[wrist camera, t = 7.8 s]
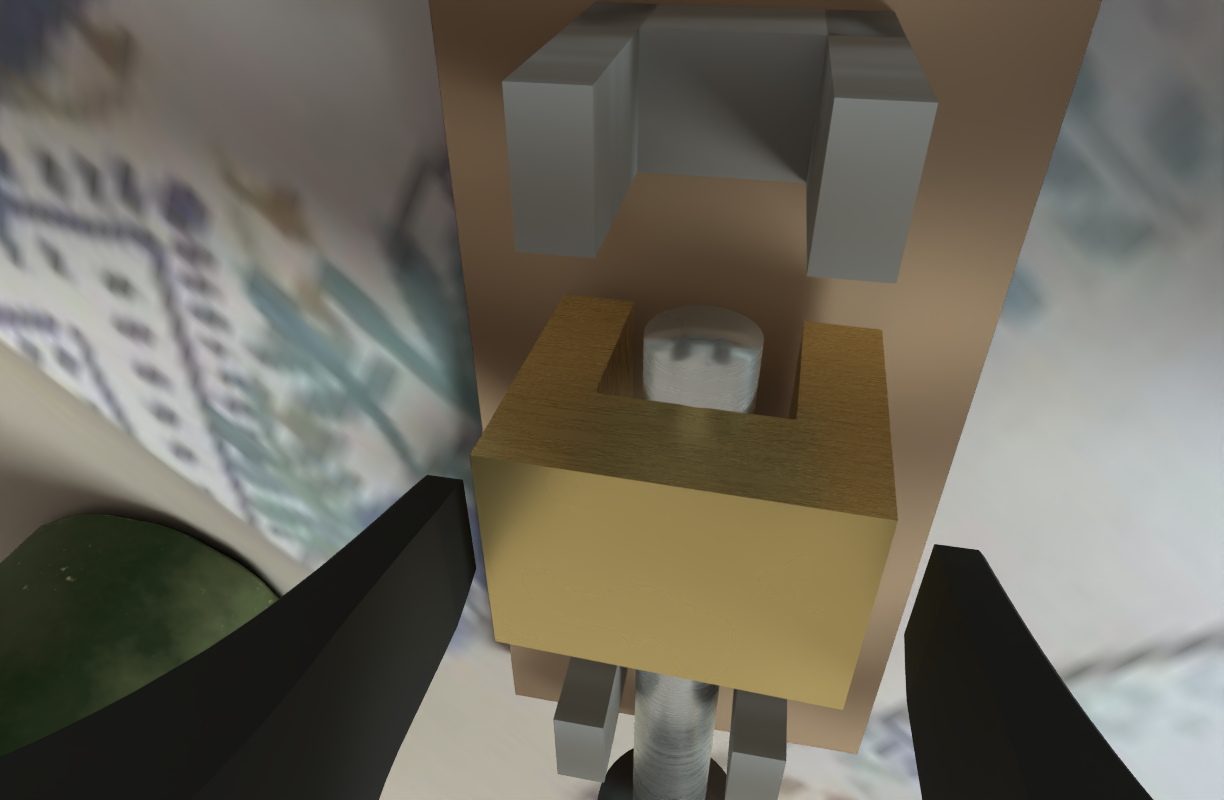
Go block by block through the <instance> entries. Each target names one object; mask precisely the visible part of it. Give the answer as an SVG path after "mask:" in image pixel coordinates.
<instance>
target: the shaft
mask: <svg viewBox="0 0 1224 800" xmlns="http://www.w3.org/2000/svg"><path fill="white" fill-rule="evenodd" d="M763 342H764V336H763V333H762V331H761V329H760V328H759V326H758V325H757V324H756V323H755V322H754V321H752V320H751V319H750V318H748V317H746V316H744V315H743V314H740V313H738V312H735V311H732V310H729V309H725V308H721V307H715V306H705V305H692V306H682V307H677V308H672V309H669V310H666V311H664V312H661V313H659V314H658V315H656V316H654V317H653V318H652V319H651V320H650V321H649V322H648V323H647V325H646V326H645V329H644V344H643V386H642V399H644V400H651V401H659V402H666V403H674V404H680V405H685V406H690V407H700V408H711V409H718V410H726V411H733V412H740V413H748V414H754V412H755V405H756V397H757V389H758V381H759V373H760V365H761V358H762V350H763ZM719 687H720V686H719V685H714V684H708V683H703V682H698V681H693V680H688V679H683V678H678V677H673V676H668V675H663V674H658V673H653V672H648V671H643V670H638V669H636V681H635V723H634V748H633V749H631V750H629V751H628V752H626V753H625V754H624V755H622V756H621V757H620V758H619V759H618V760H617V761H616V762H615V763H614V764H613V765H612V766H611V768H610V769H609V770H608V772H607V774H606V777H605V781H604V783H603V782H602V784H601V787H600V791H599V795H598V800H725V789H726V776H727V775H726V773H725V772H724V771H723V769H722V768H721V767H720V766H719V765H718V764H717V763H716V762H715V761H714V760H713V759H712V758H711V750H712V742H713V734H714V726H715V718H716V710H717V703H718V695H719Z"/></svg>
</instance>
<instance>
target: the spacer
mask: <svg viewBox="0 0 1224 800" xmlns="http://www.w3.org/2000/svg"><path fill="white" fill-rule="evenodd" d="M633 334H634V302H630V301H621V300H612V299H603V298H594V297H585V296H576V295H567V294H564V296H563V297H562V299H561V301H560V303H559V304H558V306H557V308H556V309H555V311H554V313H553V314H552V316H551V318H550V320H549V321H548V323H547V325H546V326H545V328H544V330H543V331H542V333H541V335H540V337H539V338H538V340H537V342H536V343H535V345H534V347H533V348H532V350H531V352H530V353H529V355H528V357H527V359H526V360H525V362H524V364H523V365H522V367H521V369H520V370H519V372H518V374H517V376H516V377H515V379H514V381H513V382H512V384H511V386H510V387H509V389H508V391H507V393H506V394H505V396H504V398H503V399H502V401H501V403H500V404H499V406H498V408H497V410H496V411H495V413H494V415H493V416H492V418H491V420H490V421H489V423H488V425H487V427H486V428H485V430H484V432H483V433H482V435H481V437H480V438H479V440H478V442H477V444H476V445H475V447H474V449H473V450H472V452H471V454H470V460H471V468H472V475H473V482H474V489H475V497H476V504H477V511H478V519H479V526H480V533H481V541H482V548H483V555H484V563H485V570H486V577H487V585H488V592H489V599H490V607H491V614H492V621H493V629H494V636H495V641H497V642H502V643H507V644H512V645H517V646H522V647H527V648H532V649H537V650H542V651H547V652H552V653H557V654H562V655H567V656H572V657H577V658H583V659H588V660H593V661H598V662H603V663H608V664H613V665H618V666H623V667H628V668H633V669H638V670H643V671H648V672H653V673H658V674H663V675H668V676H673V677H678V678H683V679H688V680H693V681H698V682H703V683H708V684H714V685H719V686H724V687H729V688H734V689H739V690H744V691H749V692H754V693H759V694H764V695H769V696H774V697H779V698H784V699H789V700H794V701H799V702H804V703H809V704H814V705H819V706H824V707H829V708H834V709H839V710H843V708H844V705H845V702H846V698H847V695H848V691H849V688H850V684H851V681H852V677H853V674H854V671H855V667H856V664H857V660H858V657H859V653H860V650H861V647H862V643H863V640H864V636H865V633H866V629H867V626H868V623H869V619H870V616H871V612H872V609H873V605H874V602H875V598H876V595H877V592H878V588H879V585H880V581H881V578H882V574H883V571H884V568H885V564H886V561H887V557H888V554H889V550H890V547H891V544H892V540H893V537H894V533H895V530H896V526H897V523H898V514H897V502H896V490H895V478H894V466H893V454H892V442H891V430H890V418H889V406H888V394H887V382H886V370H885V358H884V346H883V334H882V330H880V329H871V328H862V327H853V326H844V325H835V324H826V323H817V322H808V321H804V325H803V331H802V337H801V343H800V349H799V356H798V362H797V368H796V374H795V380H794V386H793V393H792V399H791V405H790V411H789V417H788V419H785V418H778V417H770V416H763V415H755V414H748V413H740V412H733V411H726V410H718V409H711V408H700V407H690V406H685V405H680V404H674V403H666V402H659V401H651V400H644V399H636V398H632V390H633Z"/></svg>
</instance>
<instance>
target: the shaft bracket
mask: <svg viewBox="0 0 1224 800" xmlns="http://www.w3.org/2000/svg"><path fill="white" fill-rule="evenodd" d="M1101 2H1102V0H429V5H430V13H431V21H432V29H433V37H434V45H435V53H436V61H437V69H438V77H439V85H440V93H441V101H442V109H443V117H444V125H445V133H446V141H447V149H448V157H449V165H450V173H451V181H452V189H453V197H454V205H455V213H456V221H457V229H458V237H459V245H460V253H461V261H462V269H463V277H464V285H465V293H466V301H467V309H468V317H469V325H470V333H471V341H472V349H473V357H474V365H475V373H476V381H477V389H478V397H479V405H480V413H481V421H482V429H483V432H484V430H485V428H486V427H487V425H488V423H489V421H490V420H491V418H492V416H493V415H494V413H495V411H496V410H497V408H498V406H499V404H500V403H501V401H502V399H503V398H504V396H505V394H506V393H507V391H508V389H509V387H510V386H511V384H512V382H513V381H514V379H515V377H516V376H517V374H518V372H519V370H520V369H521V367H522V365H523V364H524V362H525V360H526V359H527V357H528V355H529V353H530V352H531V350H532V348H533V347H534V345H535V343H536V342H537V340H538V338H539V337H540V335H541V333H542V331H543V330H544V328H545V326H546V325H547V323H548V321H549V320H550V318H551V316H552V314H553V313H554V311H555V309H556V308H557V306H558V304H559V303H560V301H561V299H562V297H563V296H564V294H567V295H576V296H585V297H594V298H603V299H612V300H621V301H630V302H634V334H633V390H632V398H636V399H642V386H643V344H644V329H645V326H646V325H647V323H648V322H649V321H650V320H651V319H652V318H653V317H654V316H656V315H658V314H659V313H661V312H664V311H666V310H669V309H672V308H677V307H682V306H692V305H705V306H715V307H721V308H725V309H729V310H732V311H735V312H738V313H740V314H743V315H744V316H746V317H748V318H750V319H751V320H752V321H754V322H755V323H756V324H757V325H758V326H759V328H760V329H761V331H762V333H763V336H764V342H763V350H762V358H761V365H760V373H759V381H758V389H757V397H756V405H755V412H754V414H755V415H763V416H770V417H778V418H785V419H788V417H789V411H790V405H791V399H792V393H793V386H794V380H795V374H796V368H797V362H798V356H799V349H800V343H801V337H802V331H803V325H804V321H808V322H817V323H826V324H835V325H844V326H853V327H862V328H871V329H880V330H882V334H883V346H884V358H885V370H886V382H887V394H888V406H889V418H890V430H891V442H892V454H893V466H894V478H895V490H896V502H897V514H898V523H897V526H896V530H895V533H894V537H893V540H892V544H891V547H890V550H889V554H888V557H887V561H886V564H885V568H884V571H883V574H882V578H881V581H880V585H879V588H878V592H877V595H876V598H875V602H874V605H873V609H872V612H871V616H870V619H869V623H868V626H867V629H866V633H865V636H864V640H863V643H862V647H861V650H860V653H859V657H858V660H857V664H856V667H855V671H854V674H853V677H852V681H851V684H850V688H849V691H848V695H847V698H846V702H845V705H844V708H843V710H839V709H834V708H829V707H824V706H819V705H814V704H809V703H804V702H799V701H794V700H789V699H784V698H779V697H774V696H769V695H764V694H759V693H754V692H749V691H744V690H739V689H734V688H729V687H724V686H720V687H719V695H718V703H717V710H716V718H715V726H714V729H715V730H721V731H727V732H730V740H729V752H728V764H727V776H726V789H725V800H777V799H778V794H779V790H780V786H781V781H782V777H783V773H784V768H785V764H786V742H790V743H795V744H801V745H807V746H812V747H818V748H824V749H829V750H835V751H841V752H846V753H852V754H858V750H859V747H860V744H861V741H862V738H863V735H864V732H865V729H866V726H867V723H868V720H869V717H870V713H871V710H872V707H873V704H874V701H875V698H876V695H877V692H878V689H879V686H880V683H881V680H882V677H883V673H884V670H885V667H886V664H887V661H888V658H889V655H890V652H891V649H892V646H893V643H894V640H895V636H896V633H897V630H898V627H899V624H900V621H901V618H902V615H903V612H904V609H905V606H906V603H907V599H908V596H909V593H910V590H911V587H912V584H913V581H914V578H915V575H916V572H917V569H918V566H919V563H920V559H921V556H922V553H923V550H924V547H925V544H926V541H927V538H928V535H929V532H930V529H931V526H932V522H933V519H934V516H935V513H936V510H937V507H938V504H939V501H940V498H941V495H942V492H943V489H944V485H945V482H946V479H947V476H948V473H949V470H950V467H951V464H952V461H953V458H954V455H955V452H956V449H957V445H958V442H959V439H960V436H961V433H962V430H963V427H964V424H965V421H966V418H967V415H968V412H969V408H970V405H971V402H972V399H973V396H974V393H975V390H976V387H977V384H978V381H979V378H980V375H981V371H982V368H983V365H984V362H985V359H986V356H987V353H988V350H989V347H990V344H991V341H992V338H993V334H994V331H995V328H996V325H997V322H998V319H999V316H1000V313H1001V310H1002V307H1003V304H1004V301H1005V298H1006V294H1007V291H1008V288H1009V285H1010V282H1011V279H1012V276H1013V273H1014V270H1015V267H1016V264H1017V261H1018V257H1019V254H1020V251H1021V248H1022V245H1023V242H1024V239H1025V236H1026V233H1027V230H1028V227H1029V224H1030V220H1031V217H1032V214H1033V211H1034V208H1035V205H1036V202H1037V199H1038V196H1039V193H1040V190H1041V187H1042V184H1043V180H1044V177H1045V174H1046V171H1047V168H1048V165H1049V162H1050V159H1051V156H1052V153H1053V150H1054V147H1055V143H1056V140H1057V137H1058V134H1059V131H1060V128H1061V125H1062V122H1063V119H1064V116H1065V113H1066V110H1067V106H1068V103H1069V100H1070V97H1071V94H1072V91H1073V88H1074V85H1075V82H1076V79H1077V76H1078V73H1079V70H1080V66H1081V63H1082V60H1083V57H1084V54H1085V51H1086V48H1087V45H1088V42H1089V39H1090V36H1091V33H1092V29H1093V26H1094V23H1095V20H1096V17H1097V14H1098V11H1099V8H1100V5H1101ZM509 645H510V653H511V661H512V669H513V677H514V685H515V693H516V695H522V696H527V697H533V698H539V699H544V700H550V701H556V702H558V705H557V709H556V712H555V716H554V719H553V720H554V733H555V745H556V758H557V770H558V774H561V775H566V776H571V777H576V778H582V779H587V780H592V781H597V782H603V783H604V781H605V777H606V772H607V767H608V762H609V757H610V753H611V748H612V743H613V738H614V733H615V729H616V724H617V719H618V714H619V713H624V714H630V715H635V681H636V669H633V668H628V667H623V666H618V665H613V664H608V663H603V662H598V661H593V660H588V659H583V658H577V657H572V656H567V655H562V654H557V653H552V652H547V651H542V650H537V649H532V648H527V647H522V646H517V645H512V644H509Z"/></svg>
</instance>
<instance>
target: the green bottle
mask: <svg viewBox="0 0 1224 800" xmlns="http://www.w3.org/2000/svg"><path fill="white" fill-rule="evenodd" d="M278 599H279V598H278V597H277V596H276V595H275V594H274V593H273V592H272V590H271V589H270V588H269V587H268V586H267V585H266V584H265V583H264V582H263V581H262V580H260V579H259V578H258V577H256V576H255V575H254V574H253V573H251V572H250V571H249V570H247V569H246V568H245V567H243V566H242V565H241V564H239V563H238V562H236V561H234V560H232V559H231V558H229V557H227V556H225V555H223V554H221V553H220V552H218V551H216V550H214V549H212V548H211V547H209V546H207V545H205V544H203V543H202V542H200V541H198V540H196V539H194V538H193V537H191V536H189V535H186V534H183V533H181V532H178V531H175V530H173V529H170V528H168V527H165V526H162V525H159V524H154V523H149V522H144V521H139V520H134V519H129V518H124V517H119V516H114V515H106V514H76V515H73V516H70V517H67V518H64V519H61V520H58V521H55V522H52V523H49V524H45V525H42V526H41V527H39V528H38V529H37V530H36V531H35V532H34V533H33V534H32V535H31V536H30V537H29V538H27V539H26V540H25V541H24V542H23V543H22V544H21V545H20V546H19V547H18V548H17V549H16V550H14V551H13V552H12V553H11V554H10V555H9V556H8V557H7V558H6V559H5V560H4V561H2V562H1V563H0V757H1V756H3V755H5V754H7V753H10V752H12V751H14V750H17V749H19V748H21V747H23V746H26V745H28V744H30V743H33V742H35V741H37V740H39V739H41V738H43V737H45V736H47V735H50V734H52V733H54V732H56V731H58V730H60V729H62V728H64V727H66V726H68V725H70V724H72V723H74V722H76V721H78V720H80V719H82V718H84V717H86V716H88V715H90V714H92V713H94V712H96V711H98V710H100V709H102V708H104V707H106V706H108V705H110V704H112V703H114V702H115V701H117V700H119V699H121V698H123V697H125V696H127V695H129V694H131V693H132V692H134V691H136V690H138V689H139V688H141V687H143V686H145V685H146V684H148V683H150V682H152V681H153V680H155V679H157V678H158V677H160V676H162V675H164V674H165V673H167V672H169V671H170V670H172V669H174V668H176V667H177V666H179V665H181V664H183V663H184V662H186V661H188V660H189V659H191V658H193V657H195V656H196V655H198V654H200V653H201V652H203V651H204V650H206V649H208V648H209V647H211V646H212V645H214V644H215V643H217V642H218V641H220V640H221V639H223V638H224V637H226V636H227V635H229V634H230V633H232V632H233V631H235V630H237V629H238V628H239V627H241V626H242V625H244V624H245V623H247V622H248V621H250V620H251V619H252V618H254V617H255V616H257V615H258V614H259V613H261V612H262V611H264V610H265V609H266V608H268V607H269V606H270V605H272V604H273V603H275V602H276V601H277V600H278Z"/></svg>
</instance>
